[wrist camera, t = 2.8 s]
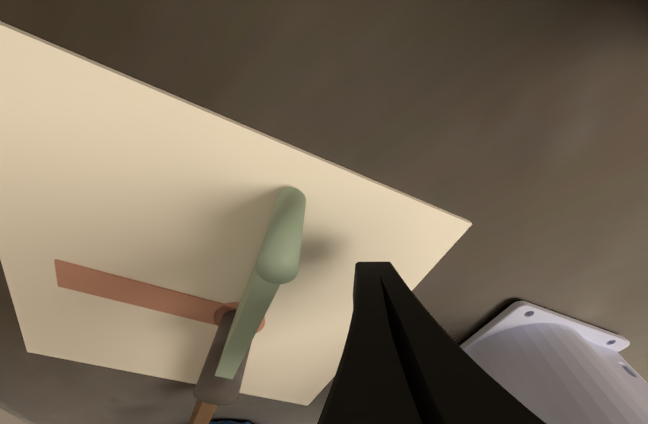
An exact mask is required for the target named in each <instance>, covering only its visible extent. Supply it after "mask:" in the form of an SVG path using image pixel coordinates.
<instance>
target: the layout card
mask: <svg viewBox="0 0 648 424" xmlns="http://www.w3.org/2000/svg"><path fill="white" fill-rule="evenodd" d="M285 188H296V189H299V190H300V191H301V192H302V193H303V194H304V195H305V198H306V206H305V215H304V224H303V233H302V242H301V251H300V260H299V269H298V274H297V276H296V278H295V279H293V280H292V281H291V282H288V283H285V284H280V286H279V288H278V290H277V292H276V294H275V296H274V298H273V300H272V302H271V304H270V306H269V308H268V310H267V312H266V314H265V316H264V318H263V320H262V322H261V324H260V326H259V328H258V330H257V332H256V334H255V336H254V338H253V340H252V343H251V347H250V351H249V355H248V359H247V363H246V367H245V371H244V375H243V379H242V383H241V387H240V391H239V393H244V394H249V395H254V396H259V397H264V398H270V399H275V400H280V401H285V402H290V403H296V404H301V405H306V406H308V405H309V404H310V403H311V402H312V400H313V399H314V398H315V397H316V396H317V395H318V394H319V393H320V392H321V391H322V389H323V388H324V387H325V386H326V385H327V384H328V383H329V382H330V381H331V379H332V378H333V377H334V376H335V375H336V372H337V369H338V366H339V363H340V360H341V356H342V353H343V350H344V346H345V343H346V339H347V335H348V331H349V327H350V322H351V318H352V313H353V285H354V274H355V264H356V263H357V262H390V263H391V264H392V265H393V266H394V268H395V269H396V271H397V272H398V273H399V275H400V276H401V278H402V279H403V280H404V282H405V283H406V284H407V286H408V287H409V288H410V290H411V291H412V290H413V289H414V288H415V287H416V286H417V284H418V283H419V282H420V281H421V280H422V279H423V278H424V277H425V276H426V275H427V273H428V272H429V271H430V270H431V269H432V268H433V267H434V266H435V265H436V263H437V262H438V261H439V260H440V259H441V258H442V257H443V256H444V255H445V254H446V252H447V251H448V250H449V249H450V248H451V247H452V246H453V245H454V244H455V242H456V241H457V240H458V239H459V238H460V237H461V236H462V235H463V234H464V233H465V231H466V230H467V229H468V228H469V227H470V226H471V225H472V223H471V222H470V221H469V220H467V219H464V218H462V217H460V216H457V215H455V214H452V213H450V212H448V211H445V210H443V209H441V208H438V207H436V206H434V205H431V204H429V203H427V202H424V201H422V200H420V199H417V198H415V197H413V196H410V195H408V194H405V193H403V192H401V191H398V190H396V189H394V188H391V187H389V186H387V185H384V184H382V183H380V182H377V181H375V180H373V179H370V178H368V177H365V176H363V175H361V174H358V173H356V172H354V171H351V170H349V169H347V168H344V167H342V166H340V165H337V164H335V163H333V162H330V161H328V160H326V159H323V158H321V157H318V156H316V155H314V154H311V153H309V152H307V151H304V150H302V149H300V148H297V147H295V146H293V145H290V144H288V143H286V142H283V141H281V140H279V139H276V138H274V137H271V136H269V135H267V134H264V133H262V132H260V131H257V130H255V129H253V128H250V127H248V126H246V125H243V124H241V123H239V122H236V121H234V120H231V119H229V118H227V117H224V116H222V115H220V114H217V113H215V112H213V111H210V110H208V109H206V108H203V107H201V106H199V105H196V104H194V103H192V102H189V101H187V100H184V99H182V98H180V97H177V96H175V95H173V94H170V93H168V92H166V91H163V90H161V89H159V88H156V87H154V86H152V85H149V84H147V83H145V82H142V81H140V80H137V79H135V78H133V77H130V76H128V75H126V74H123V73H121V72H119V71H116V70H114V69H112V68H109V67H107V66H105V65H102V64H100V63H97V62H95V61H93V60H90V59H88V58H86V57H83V56H81V55H79V54H76V53H74V52H72V51H69V50H67V49H65V48H62V47H60V46H58V45H55V44H53V43H50V42H48V41H46V40H43V39H41V38H39V37H36V36H34V35H32V34H29V33H27V32H25V31H22V30H20V29H18V28H15V27H13V26H11V25H8V24H6V23H3V22H1V21H0V260H1V263H2V267H3V270H4V274H5V277H6V280H7V284H8V287H9V291H10V294H11V298H12V301H13V305H14V308H15V312H16V315H17V318H18V322H19V325H20V329H21V332H22V336H23V339H24V343H25V346H26V349H27V352H30V353H35V354H41V355H46V356H51V357H56V358H61V359H67V360H72V361H77V362H82V363H87V364H93V365H98V366H103V367H108V368H113V369H119V370H124V371H129V372H134V373H140V374H145V375H150V376H155V377H160V378H166V379H171V380H176V381H181V382H186V383H192V384H197V382H198V379H199V376H200V374H201V371H202V368H203V366H204V363H205V361H206V358H207V355H208V353H209V350H210V348H211V345H212V342H213V340H214V337H215V334H216V332H217V329H218V327H219V324H220V321H221V319H222V316H223V314H224V313H226V312H227V311H230V310H237V307H238V305H239V303H240V300H241V298H242V295H243V293H244V290H245V288H246V285H247V283H248V280H249V278H250V276H251V273H252V271H253V268H254V266H255V263H256V261H257V258H258V256H259V253H260V250H261V247H262V244H263V241H264V238H265V234H266V231H267V228H268V225H269V222H270V219H271V215H272V212H273V209H274V206H275V203H276V200H277V197H278V194H279V193H280V191H282V190H283V189H285Z"/></svg>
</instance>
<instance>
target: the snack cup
mask: <svg viewBox="0 0 648 424" xmlns="http://www.w3.org/2000/svg"><path fill="white" fill-rule="evenodd" d="M209 424H251V423H250V422H245V423H240V422H236V421H232V420H226V421H225V420H221V421H216V422H214V421H211V422H209Z"/></svg>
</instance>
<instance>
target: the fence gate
mask: <svg viewBox="0 0 648 424" xmlns="http://www.w3.org/2000/svg"><path fill="white" fill-rule="evenodd" d="M305 206H306V198H305V195H304V194H303V193H302V192H301V191H300V190H299V189H296V188H285V189H283V190H282V191H280V193H279V194H278V197H277V200H276V203H275V206H274V209H273V212H272V215H271V219H270V222H269V225H268V228H267V231H266V234H265V238H264V241H263V244H262V247H261V250H260V253H259V256H258V258H257V261H256V263H255V266H254V268H253V271H252V273H251V276H250V278H249V280H248V283H247V285H246V288H245V290H244V293H243V295H242V298H241V300H240V303H239V305H238V307H237V310H236V313H235V316H234V319H233V322H232V325H231V328H230V331H229V334H228V337H227V340H226V343H225V346H224V349H223V352H222V355H221V358H220V361H219V364H218V367H217V370H216V373H215V376H218V377H223V378H228V379H233V377H234V375H235V373H236V371H237V369H238V367H239V366H240V364H241V362H242V360H243V358H244V356H245V354H246V352H247V350H248V348H249V346H250V344H251V342H252V340H253V338H254V336H255V334H256V332H257V330H258V328H259V326H260V324H261V322H262V320H263V318H264V316H265V314H266V312H267V310H268V308H269V306H270V304H271V302H272V300H273V298H274V296H275V294H276V292H277V290H278V288H279V286H280V284H285V283H288V282H291V281H292V280H293V279H295V278H296V276H297V274H298V269H299V260H300V251H301V242H302V233H303V224H304V215H305Z"/></svg>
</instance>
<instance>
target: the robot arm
mask: <svg viewBox="0 0 648 424" xmlns="http://www.w3.org/2000/svg"><path fill="white" fill-rule="evenodd" d="M629 345H630V342H629V341H628V340H627V339H626V338H625V337H623V336H620V335H618V334H615V333H612V332H609V331H606V330H604V329H601V328H598V327H595V326H593V325H590V324H587V323H584V322H581V321H579V320H576V319H573V318H570V317H568V316H565V315H562V314H559V313H556V312H554V311H551V310H548V309H545V308H543V307H540V306H537V305H534V304H531V303H529V302H526V301H517V302H514V303H513V304H511V305H510V306H509V307H508V308H506V309H505V310H504V311H503V312H501V313H500V314H499V315H498V316H496V317H495V318H494V319H493V320H491V321H490V322H489V323H488V324H486V325H485V326H484V327H483V328H481V329H480V330H479V331H478V332H476V333H475V334H474V335H473V336H471V337H470V338H469V339H468V340H466V341H465V342H464V343H463V344H461V345H460V346H459V345H458V344H457V343H456V342H455V341H454V340H453V339H452V338H451V337H450V336H449V335H448V334H447V333H446V332H445V331H444V329H443V328H442V327H441V326H440V325H439V324H438V323H437V322H436V320H435V319H434V318H433V317H432V316H431V315H430V313H429V312H428V311H427V310H426V309H425V307H424V306H423V305H422V304H421V302H420V301H419V300H418V299H417V298H416V296H415V295H414V294H413V292H412V291H411V290H410V288H409V287H408V286H407V284H406V283H405V282H404V280H403V279H402V278H401V276H400V275H399V273H398V272H397V271H396V269H395V268H394V266H393V265H392V264H391V263H390V262H357V263H356V264H355V274H354V285H353V313H352V318H351V322H350V327H349V331H348V335H347V339H346V343H345V346H344V350H343V353H342V356H341V360H340V363H339V366H338V369H337V372H336V375H335V378H334V381H333V384H332V387H331V389H330V392H329V395H328V397H327V400H326V403H325V405H324V408H323V410H322V413H321V416H320V418H319V421H318V423H317V424H648V383H647V382H646V381H645V380H644V379H643V378H642V377H641V376H640V375H639V374H638V373H637V372H636V371H635V370H634V369H633V368H632V367H631V366H630V365H629V364H628V363H627V362H626V360H625V359H624V358H623V357H622V356H621V355H620V354H619V353H618V352H619V351H621V350H623V349H625V348H626V347H628V346H629Z"/></svg>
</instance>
